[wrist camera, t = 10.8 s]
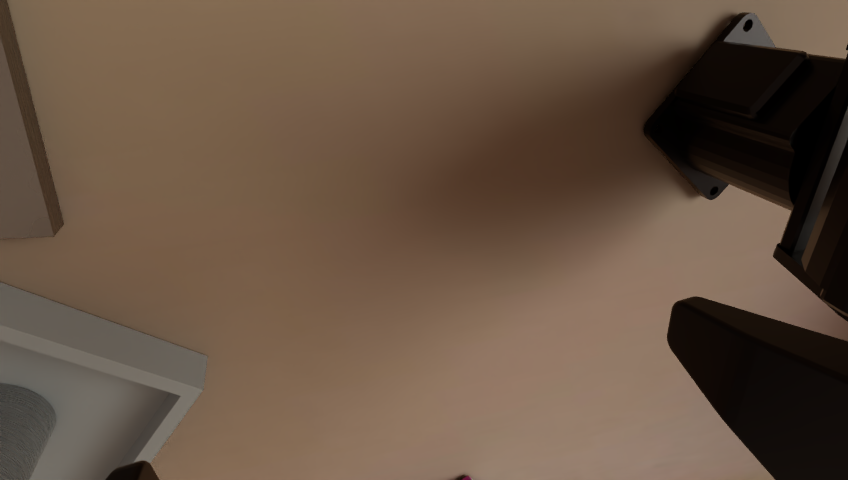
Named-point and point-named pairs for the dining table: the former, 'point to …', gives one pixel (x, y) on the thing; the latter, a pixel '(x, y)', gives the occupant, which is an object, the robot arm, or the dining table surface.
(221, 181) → the dining table surface
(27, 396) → the orange capped tube
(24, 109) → the plate
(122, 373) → the tray
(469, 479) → the candy bar box
